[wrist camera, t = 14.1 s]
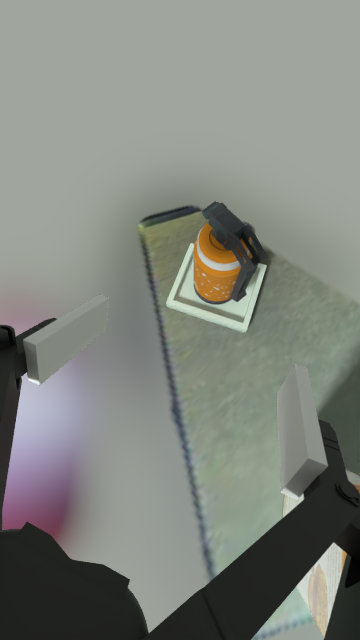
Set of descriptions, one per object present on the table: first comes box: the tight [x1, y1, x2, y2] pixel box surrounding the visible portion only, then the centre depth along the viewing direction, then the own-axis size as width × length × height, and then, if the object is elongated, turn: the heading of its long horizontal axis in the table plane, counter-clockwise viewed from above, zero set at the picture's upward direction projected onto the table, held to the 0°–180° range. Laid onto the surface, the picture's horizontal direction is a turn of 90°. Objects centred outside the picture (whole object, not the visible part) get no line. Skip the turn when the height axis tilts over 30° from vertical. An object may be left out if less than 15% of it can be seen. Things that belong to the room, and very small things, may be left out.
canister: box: [193, 202, 268, 305], centre depth 41 cm, size 9×11×20 cm
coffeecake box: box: [283, 469, 360, 638], centre depth 31 cm, size 15×7×20 cm, turn 167°
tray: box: [166, 243, 267, 333], centre depth 50 cm, size 16×14×2 cm
